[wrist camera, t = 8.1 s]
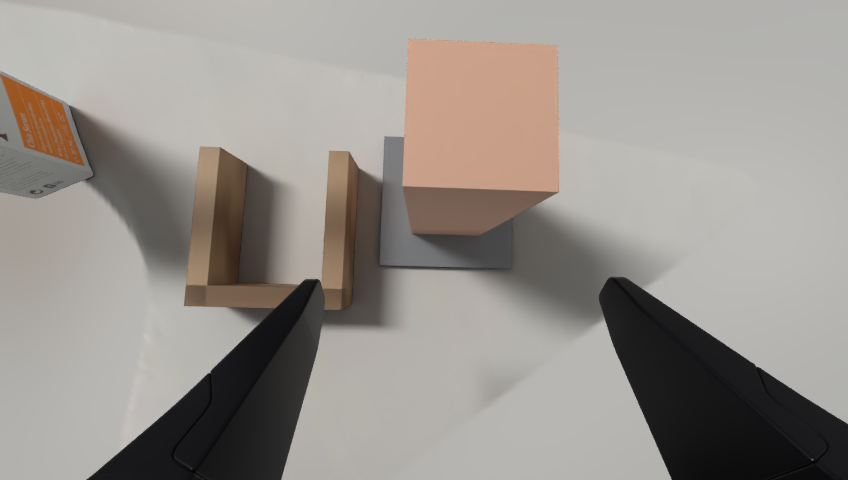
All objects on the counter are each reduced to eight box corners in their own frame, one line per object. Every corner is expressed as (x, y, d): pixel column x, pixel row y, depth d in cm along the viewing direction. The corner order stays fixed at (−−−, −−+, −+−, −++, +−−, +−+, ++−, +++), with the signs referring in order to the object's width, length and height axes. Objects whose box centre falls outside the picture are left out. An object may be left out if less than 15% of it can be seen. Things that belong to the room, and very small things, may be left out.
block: (478, 235, 21) (559, 191, 9) (411, 233, 21) (402, 186, 9) (479, 170, 21) (557, 45, 9) (414, 167, 21) (408, 38, 9)
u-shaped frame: (352, 303, 21) (340, 309, 18) (218, 300, 21) (183, 306, 18) (358, 167, 22) (349, 151, 19) (230, 163, 21) (199, 146, 18)
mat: (510, 268, 21) (512, 268, 21) (380, 265, 21) (379, 265, 21) (510, 143, 22) (512, 140, 22) (385, 138, 22) (384, 136, 21)
